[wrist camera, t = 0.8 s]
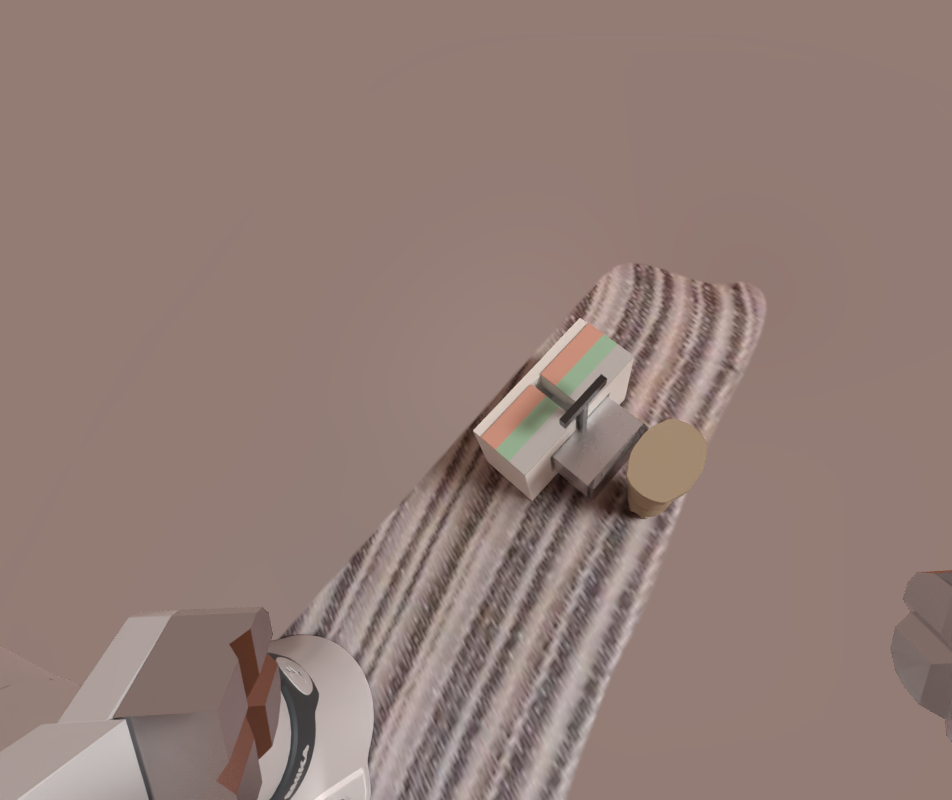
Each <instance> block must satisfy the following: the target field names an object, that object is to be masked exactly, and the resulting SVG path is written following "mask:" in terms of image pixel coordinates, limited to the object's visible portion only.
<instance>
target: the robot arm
mask: <svg viewBox="0 0 952 800" xmlns="http://www.w3.org/2000/svg"><path fill="white" fill-rule="evenodd" d="M903 600H904V601H905V603H906V605H907V607H908V608H909V610H910V613H909V614H908V615H907V616H906V617H905V618H904V619H903V620H902V621H901V622H900V623H899V624H898V625H897V626H896V627H895V631H894V635H893V639H892V644H891V653H892V657H893V662H894V667H895V671H896V673H897V675H898V676H899V678H900V680H901V682H902V684H903V686H904V687H905V689H906V690H907V691H908V692H909V693H910V695H911V696H912V697H913V698H914V699H915V700H916V702H918V704H920V705H921V706H923V707H924V708H926V709H928V710H930V711H931V712H933V713H935V714H937V715H938V716H940V717H942V718H944V719H945V726H946V736H947V737H948V738H949V739H950V740H951V741H952V570H945V571H929V572H917V573H916V574H915V575H914V576H913V577H912V578H911V579H910V580H909V581H908V583H907V587H906V590H905V594H904V597H903ZM272 636H273V632H272V627H271V622H270V617H269V613H268V612H267V611H266V610H265V609H264V608H263V607H261V608H260V607H257V608H229V609H228V608H225V609H194V610H180V611H153V612H138V613H137V614H134V615H133V616H131V617H129V618H128V619H127V620H126V621H125V623H124V625H123V626H122V627H121V629H120V630H119V632H118V633H117V635H116V636H115V638H114V639H113V641H112V642H111V643H110V645H109V647H108V648H107V649H106V651H105V652H104V654H103V655H102V657H101V658H100V660H99V661H98V663H97V664H96V666H95V667H94V669H93V670H92V672H91V673H90V674H89V676H88V677H87V679H86V680H85V682H84V683H83V685H82V686H81V685H79V684H77V683H75V682H73V681H71V680H69V679H66V678H62V677H57V676H56V675H54V674H52V673H50V672H48V671H46V670H44V669H42V668H41V667H39V666H37V665H35V664H33V663H31V662H29V661H27V660H26V659H24V658H22V657H20V656H18V655H16V654H14V653H13V652H10V651H9V650H7V649H5V648H3V647H1V646H0V800H342V799H344V800H370V795H371V786H370V777H369V770H368V764H367V762H368V753H369V748H370V743H371V738H372V732H373V723H374V711H373V701H372V696H371V692H370V688H369V685H368V682H367V680H366V677H365V675H364V673H363V671H362V670H361V668H360V666H359V665H358V663H357V662H356V661H355V660H354V658H353V657H352V656H351V655H350V654H349V653H348V652H347V651H346V650H344V649H343V648H342V647H340V646H339V645H337V644H336V643H334V642H332V641H330V640H327V639H325V638H322V637H318V636H312V635H296V636H290V637H286V638H282V639H278V640H273V641H271V639H272Z"/></svg>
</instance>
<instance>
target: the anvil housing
mask: <svg viewBox="0 0 952 800" xmlns="http://www.w3.org/2000/svg"><path fill="white" fill-rule="evenodd" d="M633 359H634V356H633V355H632V354H630V353H629V352H628V351H626V350H625V349H624V348H622V347H621V346H619V345H618V344H617V343H615V342H614V341H612V340H611V339H610V338H608V337H607V336H606V335H604V334H603V333H601V332H600V331H599V330H597V329H596V328H595V327H593V326H592V325H590V324H589V323H588V324H587V323H586V322H585V321H583V320H582V319H581V318H579V319H578V321H577V322H576V323H575V324H574V325H573V326H572V327H571V328H570V329H569V330H568V331H567V332H566V333H565V334H564V335H563V336H562V337H561V338H560V339H559V341H558V342H557V343H556V344H555V345H554V346H553V347H552V348H551V349H550V350H549V351H548V352H547V353H546V354H545V355H544V356H543V357H542V358H541V359H540V361H539V362H538V363H537V364H536V365H535V366H534V367H533V368H532V369H531V370H530V371H529V372H528V373H527V374H526V375H525V376H524V377H523V378H522V379H521V381H520V382H519V383H518V384H517V385H516V386H515V387H514V388H513V389H512V390H511V391H510V392H509V393H508V394H507V395H506V396H505V397H504V398H503V399H502V401H501V402H500V403H499V404H498V405H497V406H496V407H495V408H494V409H493V410H492V411H491V412H490V413H489V414H488V415H487V416H486V417H485V418H484V419H483V421H482V422H481V423H480V424H479V425H478V426H477V427H476V428H475V429H474V430H473V432H474V434H475V436H476V438H477V440H478V443H479V445H480V447H481V449H482V451H483V453H484V455H485V458H486V460H487V462H488V463H489V464H491V465H492V466H493V467H494V468H495V469H496V470H497V471H498V472H500V473H501V474H502V475H503V476H504V477H505V478H506V479H508V480H509V481H510V482H511V483H512V484H513V485H514V486H515V487H517V488H518V489H519V490H520V491H521V492H522V493H523V494H524V495H526V496H527V497H528V498H529V499H530V500H531V501H533V500H534V499H535V498H536V496H537V495H538V494H539V493H540V492H541V491H542V490H543V489H544V488H545V487H546V485H547V484H548V483H549V482H550V481H551V480H552V479H553V478H554V477H555V475H556V474H557V473H558V472H557V471H556V470H554V469H553V463H552V455H553V454H554V453H555V452H556V451H557V450H558V449H559V448H560V446H561V445H562V444H563V443H564V442H565V441H566V440H567V439H568V438H569V437H570V436H571V434H572V433H573V432H574V431H575V430H576V428H577V417H576V418H575V419H574V420H573V421H572V422H571V423H570V425H569V426H568V427H567V428H566V429H565V428H563V427H562V426H561V425H560V423H559V419H560V418H561V417H562V416H563V415H564V414H565V413H566V412H567V410H568V409H569V408H570V407H571V406H572V405H573V404H574V403H575V402H576V401H577V400H578V398H579V397H580V396H581V395H582V394H583V393H584V392H585V391H586V390H587V389H588V388H589V387H590V385H591V384H592V383H593V382H594V381H595V380H596V379H597V378H598V377H599V376H600V375H601V374H602V375H603V376H605V377H606V378H607V383H606V385H605V386H604V387H603V388H602V390H601V391H600V392H599V393H598V394H597V395H596V396H595V397H594V398H593V399H592V400H591V402H590V403H589V404H588V416H589V415H590V414H591V412H592V411H593V410H594V409H595V408H596V407H597V406H598V405H599V404H600V403H601V401H602V400H603V399H604V398H605V397H606V396H608V397H609V398H610V399H612V400H613V401H614V402H616V403H617V404H618V405H620V404H621V402H622V401H623V400H624V399H625V396H626V391H627V386H628V382H629V377H630V372H631V368H632V363H633Z"/></svg>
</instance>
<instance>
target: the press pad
mask: <svg viewBox="0 0 952 800" xmlns="http://www.w3.org/2000/svg"><path fill="white" fill-rule="evenodd" d="M606 383H607V378H606V377H605V376H603V375H602V374H601V375H600V376H599V377H598V378H597V379H596V380H595V381H594V382H593V383H592V384H591V385H590V387H589V388H588V389H587V390H586V391H585V392H584V393H583V394H582V395H581V396H580V397H579V398H578V400H577V401H576V402H575V403H574V404H573V405H572V406H571V407H570V408H569V409H568V410H567V412H566V413H565V414H564V415H563V416H562V417H561V418H560V419H559V423H560V425H561V426H562V427H563V428H565V429H566V428H567V427H568V426H569V425H570V423H571V422H572V421H573V420H574V419H575V418H576V417H577V428H576V430H575V431H574V432H573V433H572V434H571V436H570V437H569V438H568V439H567V440H566V441H565V442H564V443H563V444H562V445H561V446H560V448H559V449H558V450H557V451H556V452H555V453H554V454H553V455H552V463H553V469H554V470H556V471H557V472H558V473H559V474H560V475H561V476H563V477H564V478H565V479H566V480H567V481H569V482H570V483H571V484H572V485H573V486H574V487H576V488H577V489H578V490H579V491H580V492H582V493H583V494H584V495H585V496H586V497H587V498H589V499H590V500H591V501H592V500H593V499H594V498H595V497H596V496H597V495H598V494H599V492H600V491H601V490H602V489H603V488H604V487H605V486H606V484H607V483H608V482H609V481H610V480H611V479H612V478H613V477H614V475H615V474H616V473H617V472H618V471H619V470H620V469H621V467H622V466H623V465H624V464H625V463H626V462H627V461H628V460H629V457H630V454H631V452H632V450H633V448H634V446H635V445H636V444H637V442H638V441H639V440H640V438H641V437H642V436H643V434H644V433H645V432H646V431H647V430H648V427H647V426H646V425H644V424H643V423H642V422H641V421H639V420H638V419H637V418H635V417H634V416H633V415H631V414H630V413H629V412H627V411H626V410H625V409H624V408H622V407H621V406H620V405H618V404H617V403H616V402H614V401H613V400H612V399H610V398H609V397H608V396H606V397H605V398H604V399H603V400H602V401H601V403H600V404H599V405H598V406H597V407H596V408H595V409H594V410H593V411H592V412H591V414H590V415H589V416H588V404H589V403H590V402H591V400H592V399H593V398H594V397H595V396H596V395H597V394H598V393H599V392H600V391H601V390H602V388H603V387H604V386H605V385H606Z"/></svg>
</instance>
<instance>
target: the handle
mask: <svg viewBox="0 0 952 800" xmlns="http://www.w3.org/2000/svg"><path fill="white" fill-rule="evenodd" d="M706 451H707V443H706V441H705V439H704V437H703V436H702V434H701V433H700V432H699V431H698V430H696V429H695V428H694V427H692V426H691V425H689V424H687V423H685V422H682V421H680V420H674V419H667V420H665V421H663V422H661V423H659V424H657V425H655V426H654V427H652V428H650V429H649V430H647V431H646V432H645V433H644V434H643V436H642V437H641V438H640V440H639V441H638V442H637V444H636V445H635V446H634V448H633V450H632V452H631V454H630V457H629V462H628V468H627V474H626V480H627V483H628V485H629V486H628V492H627V497H628V502H629V509H630V510H631V511H632V512H635V513H637V514H638V515H639V516H640V518H642V519H647V518H648V517H653V516H656V515H658V514H660V513H662V512H663V511H664V510H665V509H666V508H667V507H668V506H669V505H670V504H671V502H672V501H673V500H675V499H677V498H679V497H681V496H682V495H684V494H685V493H687V492H688V491H689V489H690V488H691V486H692V485H693V484H694V482H695V481H696V479H697V478H698V477H699V475H700V473H701V472H702V470H703V468H704V464H705V459H706Z"/></svg>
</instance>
